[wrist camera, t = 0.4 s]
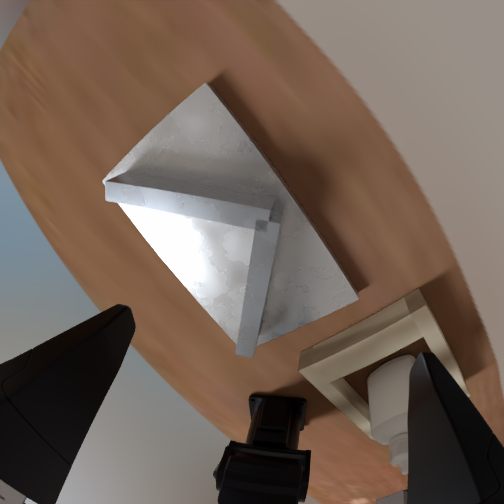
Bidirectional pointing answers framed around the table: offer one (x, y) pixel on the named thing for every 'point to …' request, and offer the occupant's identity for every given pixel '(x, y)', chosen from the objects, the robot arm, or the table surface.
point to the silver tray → (228, 224)
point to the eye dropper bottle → (391, 407)
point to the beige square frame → (373, 352)
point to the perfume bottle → (394, 498)
